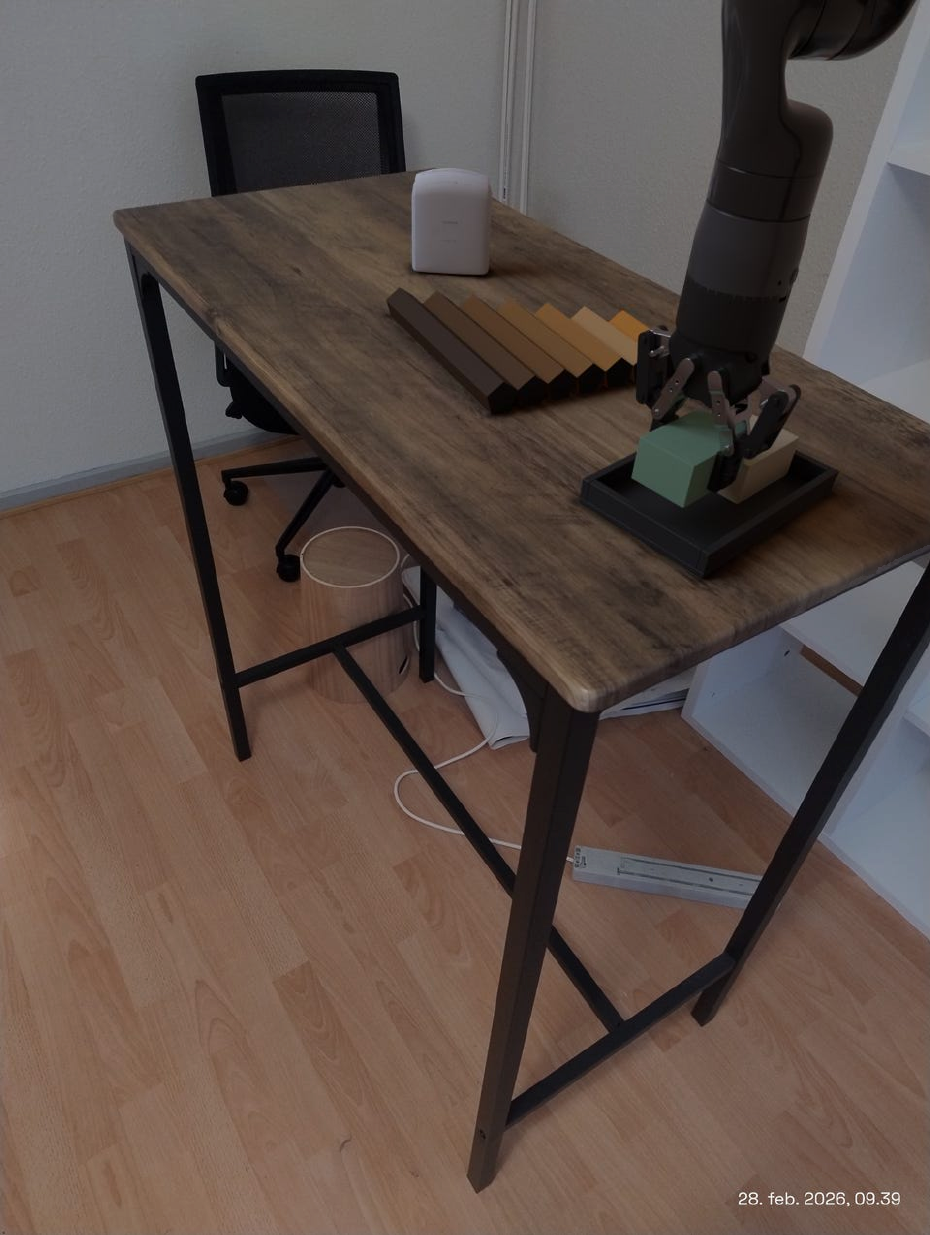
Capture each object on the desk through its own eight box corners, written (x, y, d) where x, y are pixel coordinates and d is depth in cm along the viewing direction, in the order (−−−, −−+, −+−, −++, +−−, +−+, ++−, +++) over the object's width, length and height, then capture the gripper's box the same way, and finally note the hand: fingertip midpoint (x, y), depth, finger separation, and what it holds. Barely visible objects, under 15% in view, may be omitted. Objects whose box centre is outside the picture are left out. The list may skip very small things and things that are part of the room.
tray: (830, 493, 80) (839, 470, 78) (702, 579, 70) (709, 554, 68) (710, 432, 87) (716, 410, 86) (578, 501, 77) (582, 478, 76)
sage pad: (740, 475, 74) (753, 434, 72) (683, 508, 70) (694, 466, 68) (688, 447, 77) (699, 407, 75) (630, 478, 73) (639, 436, 70)
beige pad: (787, 474, 81) (800, 437, 79) (737, 504, 77) (749, 466, 75) (738, 449, 84) (749, 412, 82) (688, 477, 80) (697, 439, 77)
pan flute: (386, 317, 104) (485, 415, 88) (385, 289, 101) (487, 384, 85) (562, 288, 113) (681, 372, 97) (565, 261, 110) (688, 343, 95)
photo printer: (409, 274, 114) (410, 172, 105) (412, 261, 117) (413, 161, 109) (488, 279, 114) (494, 177, 105) (488, 266, 117) (495, 167, 109)
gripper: (629, 251, 64) (594, 450, 75) (799, 319, 56) (732, 529, 68) (691, 231, 68) (649, 423, 79) (858, 292, 60) (785, 495, 72)
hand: (687, 471), depth 73 cm, fingers closed on sage pad, 5 cm apart
